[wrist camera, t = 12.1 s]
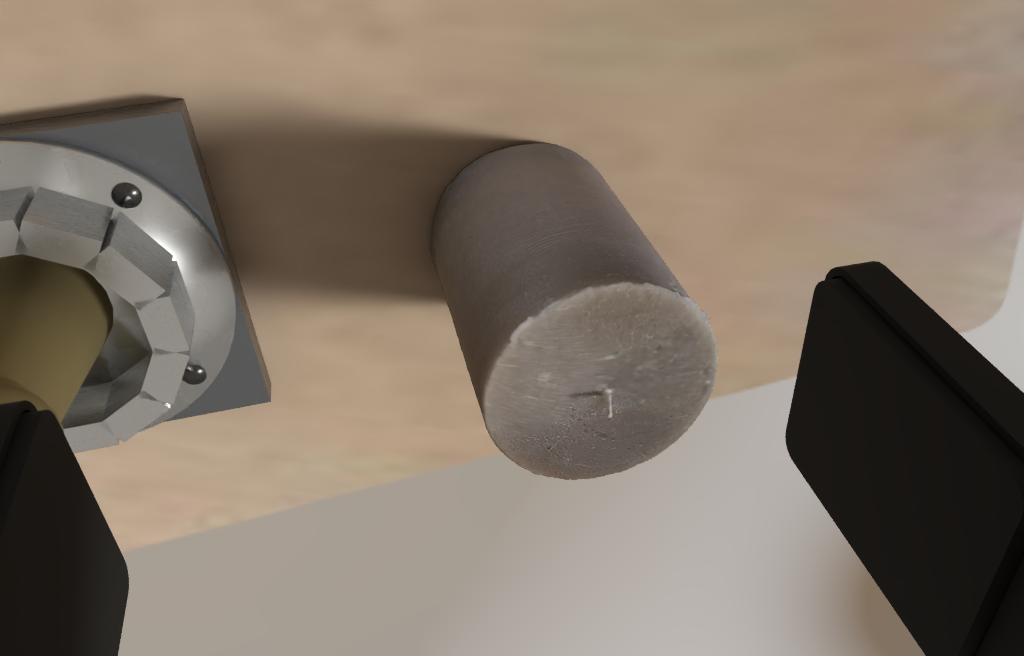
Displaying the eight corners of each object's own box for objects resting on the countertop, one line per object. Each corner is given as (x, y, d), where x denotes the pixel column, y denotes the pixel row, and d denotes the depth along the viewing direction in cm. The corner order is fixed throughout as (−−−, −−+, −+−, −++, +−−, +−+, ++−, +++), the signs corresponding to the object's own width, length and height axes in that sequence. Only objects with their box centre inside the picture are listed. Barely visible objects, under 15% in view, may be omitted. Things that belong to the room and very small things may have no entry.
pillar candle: (535, 333, 48) (622, 533, 36) (390, 254, 43) (435, 455, 31) (649, 200, 45) (786, 370, 33) (507, 99, 40) (607, 256, 28)
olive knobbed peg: (101, 250, 38) (47, 410, 29) (124, 360, 41) (82, 533, 32) (-53, 254, 36) (-158, 424, 28) (-16, 368, 40) (-99, 551, 31)
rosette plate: (-221, 156, 35) (-288, 213, 31) (183, 98, 37) (171, 145, 33) (-43, 442, 44) (-76, 515, 40) (271, 384, 46) (269, 447, 42)
